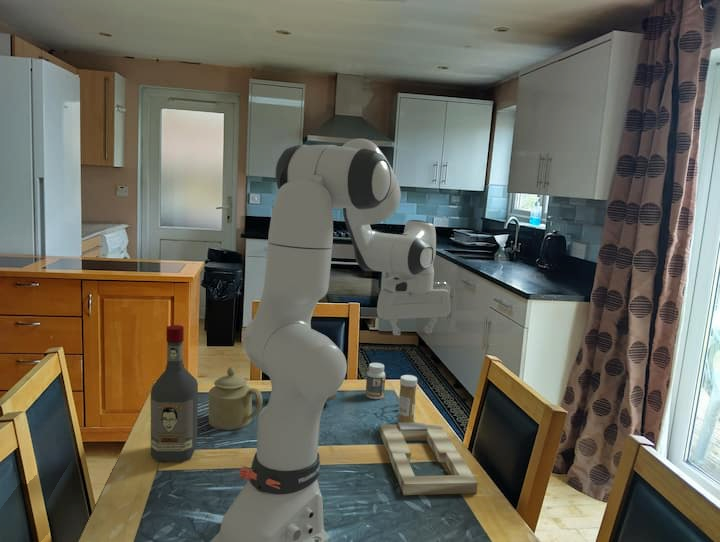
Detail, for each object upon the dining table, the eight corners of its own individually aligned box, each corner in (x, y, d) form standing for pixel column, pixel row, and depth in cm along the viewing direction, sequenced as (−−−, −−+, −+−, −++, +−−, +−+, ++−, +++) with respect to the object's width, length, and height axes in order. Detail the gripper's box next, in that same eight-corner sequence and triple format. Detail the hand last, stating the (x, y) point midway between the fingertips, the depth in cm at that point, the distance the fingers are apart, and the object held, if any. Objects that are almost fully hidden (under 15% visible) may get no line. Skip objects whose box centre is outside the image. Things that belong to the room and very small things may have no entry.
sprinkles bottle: (417, 425, 146) (420, 378, 144) (403, 429, 144) (407, 381, 142) (406, 419, 150) (410, 373, 148) (393, 422, 148) (397, 375, 146)
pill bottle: (385, 399, 163) (388, 368, 161) (367, 399, 162) (369, 368, 160) (382, 392, 169) (384, 362, 167) (363, 392, 168) (365, 361, 166)
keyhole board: (476, 493, 116) (477, 479, 115) (403, 495, 113) (404, 481, 113) (439, 433, 143) (440, 422, 142) (379, 433, 140) (380, 422, 140)
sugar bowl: (269, 415, 148) (271, 362, 145) (260, 433, 137) (261, 376, 134) (216, 410, 148) (217, 358, 146) (202, 428, 137) (203, 372, 135)
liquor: (159, 443, 128) (159, 321, 124) (198, 444, 129) (200, 322, 125) (148, 463, 119) (147, 332, 115) (190, 463, 120) (191, 333, 116)
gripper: (444, 279, 147) (440, 328, 150) (376, 280, 140) (373, 332, 142) (457, 284, 142) (452, 334, 144) (386, 285, 134) (382, 339, 136)
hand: (412, 333), depth 143 cm, fingers open, 8 cm apart
